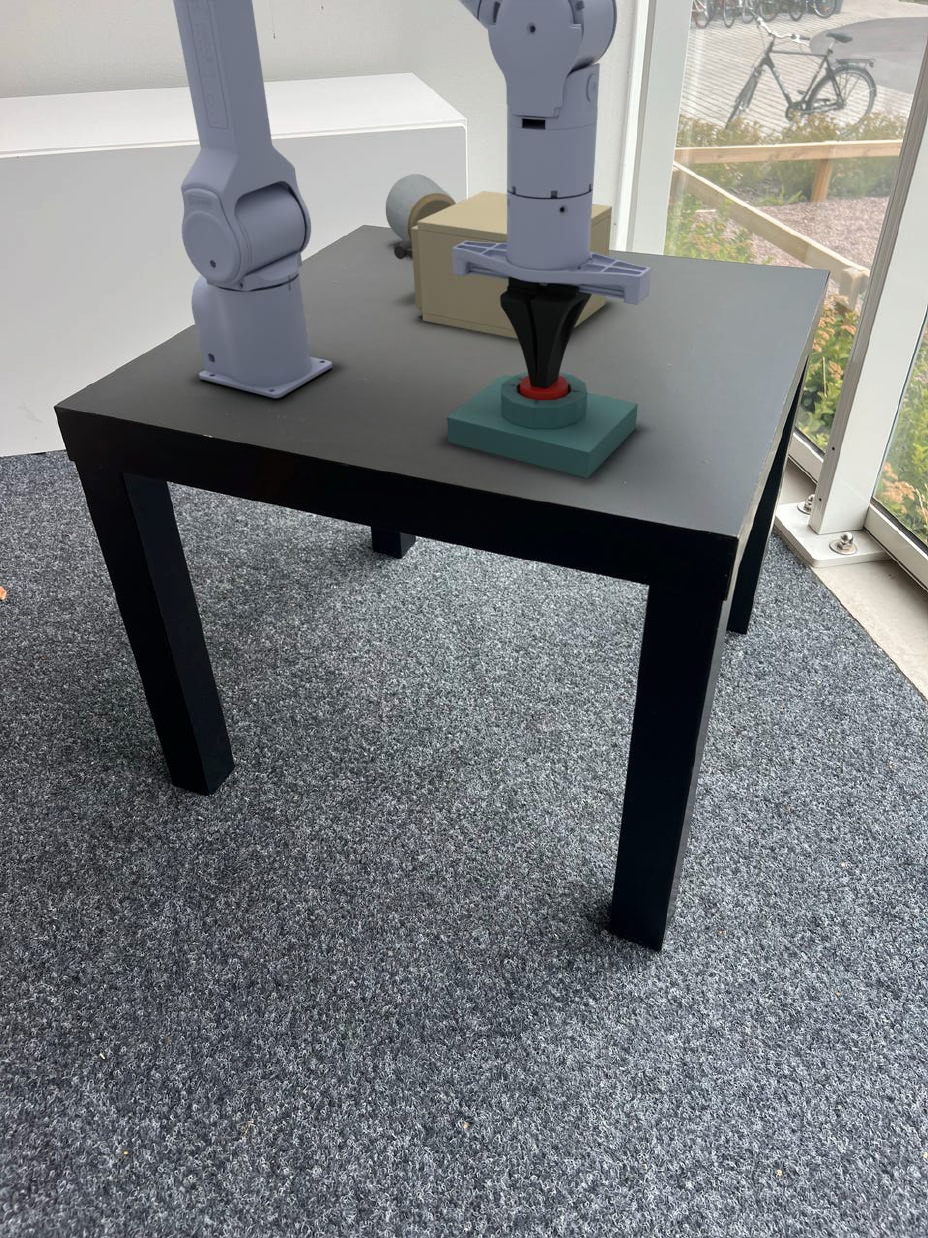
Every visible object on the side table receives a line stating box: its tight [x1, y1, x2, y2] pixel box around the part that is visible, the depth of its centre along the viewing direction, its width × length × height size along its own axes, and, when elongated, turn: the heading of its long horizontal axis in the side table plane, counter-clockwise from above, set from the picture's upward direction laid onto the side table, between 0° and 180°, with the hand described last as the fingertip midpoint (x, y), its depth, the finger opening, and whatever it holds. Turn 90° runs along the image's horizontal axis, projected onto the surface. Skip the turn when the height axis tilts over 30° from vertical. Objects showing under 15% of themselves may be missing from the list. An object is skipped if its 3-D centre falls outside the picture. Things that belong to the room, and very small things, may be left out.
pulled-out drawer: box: [393, 225, 422, 310], centre depth 90 cm, size 18×11×8 cm, turn 59°
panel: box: [446, 371, 639, 479], centre depth 69 cm, size 12×9×4 cm
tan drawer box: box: [417, 190, 613, 340], centre depth 88 cm, size 15×13×10 cm
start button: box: [520, 375, 568, 400], centre depth 68 cm, size 4×4×2 cm
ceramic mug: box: [385, 173, 457, 242], centre depth 108 cm, size 11×8×8 cm
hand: (544, 382), depth 67 cm, fingers closed, pressing on start button
